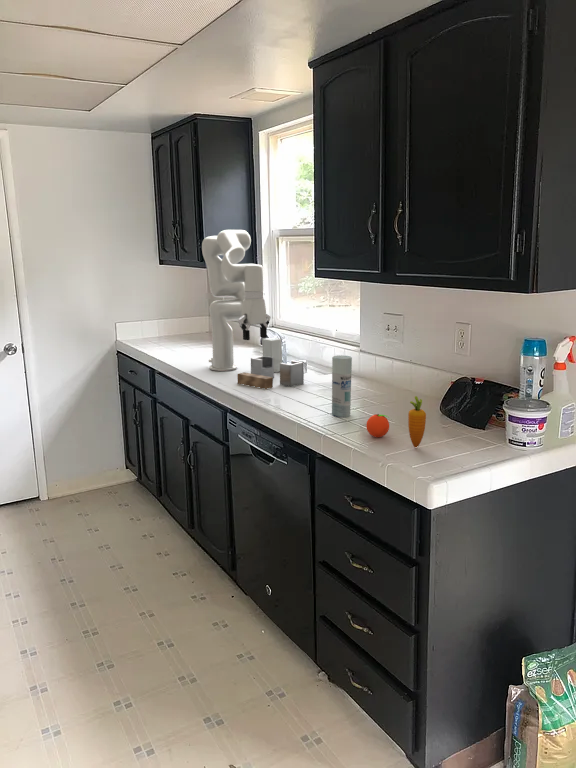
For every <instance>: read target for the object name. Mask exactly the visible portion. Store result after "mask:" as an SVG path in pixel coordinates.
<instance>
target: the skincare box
mask: <svg viewBox="0 0 576 768" xmlns="http://www.w3.org/2000/svg"><path fill="white" fill-rule="evenodd" d="M261 341H262V343H261V345H262V347H261V348H262V356H268V357H274V373H277V372H278V373H280V372H279V371H280V363H283V348H282V338H277V337H267V338H262V339H261Z"/></svg>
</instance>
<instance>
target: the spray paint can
mask: <svg viewBox="0 0 576 768" xmlns="http://www.w3.org/2000/svg"><path fill="white" fill-rule="evenodd" d="M331 362H332V363H331V364H332V365H331V369H332V371H331V378H332V379H331V415H332V416H333V417H335V416H336V418H347V417H348V418H349V417H350V416H351V402H352V401H351V400H352V399H351V398H352V367H353V364H352V363H353V357H352V356H349V355H342V354H341V355H334V356H332V361H331Z"/></svg>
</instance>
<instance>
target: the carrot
mask: <svg viewBox="0 0 576 768" xmlns="http://www.w3.org/2000/svg"><path fill="white" fill-rule="evenodd" d="M414 400H415V402H414V401H413V400H412V401H410V402H409V403H410V404H412V406H413V408H412V409H409V411H408V416H407V417H408V420H407V421H408V422H407V423H408V426H407V427H408V434H409V438H410V442H411V443H412V445H413V447H414V448H415V447H417V446H418V447H419V446H420V444H421V442H422V440H423V438H424V433H425V429H426V422H427V421H426V420H427V413H426V411H425V410H424V409H421V407H422V404H423V399H422V398H420V399H419V398H418V396H414ZM418 447H417V448H418Z"/></svg>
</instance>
